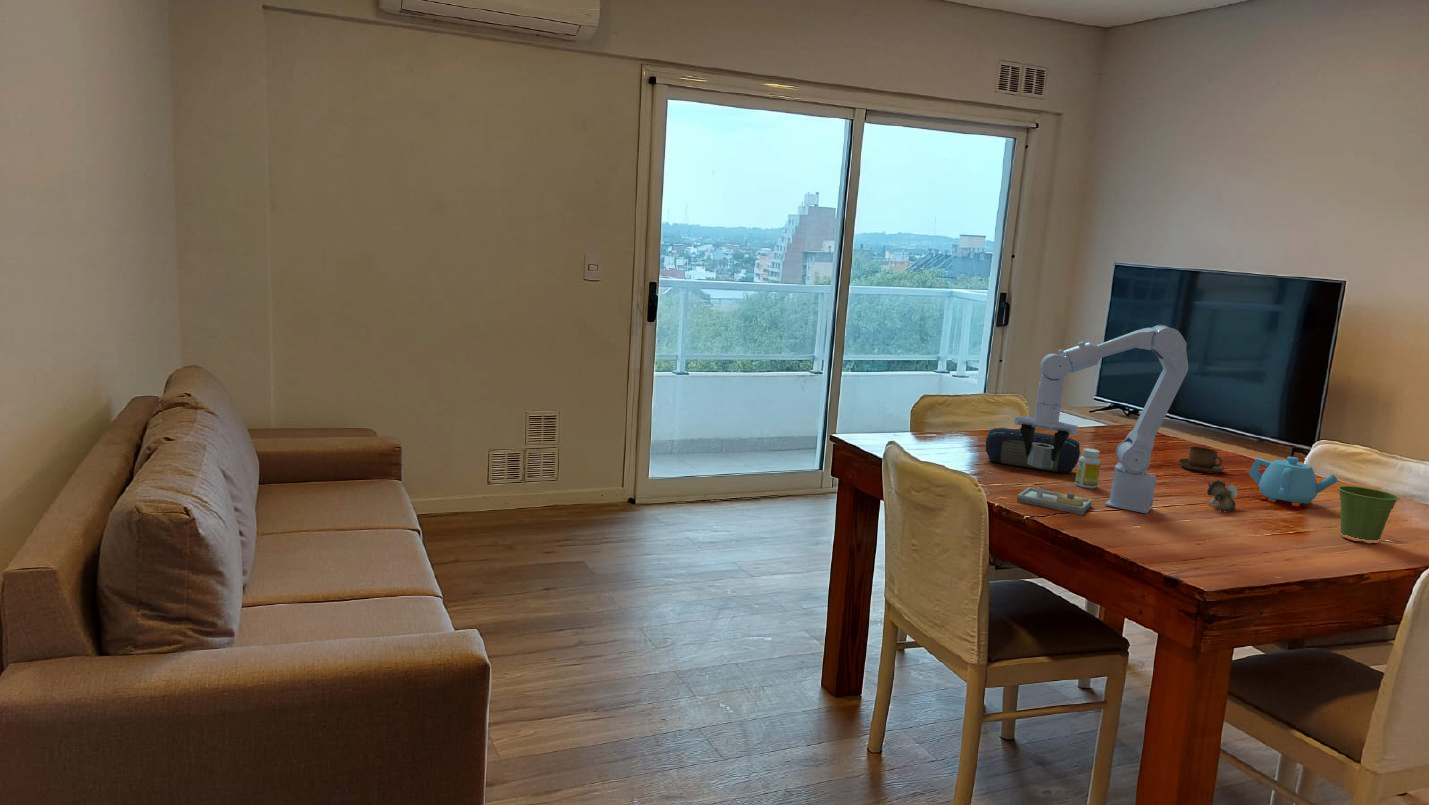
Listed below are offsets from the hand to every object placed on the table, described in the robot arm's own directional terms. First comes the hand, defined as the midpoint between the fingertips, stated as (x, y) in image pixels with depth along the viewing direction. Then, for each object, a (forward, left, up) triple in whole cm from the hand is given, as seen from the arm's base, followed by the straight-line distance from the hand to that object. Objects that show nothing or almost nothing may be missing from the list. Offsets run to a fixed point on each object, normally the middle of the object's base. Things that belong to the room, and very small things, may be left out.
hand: (1041, 458), depth 238 cm
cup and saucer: (-29, -72, -10) cm, 78 cm away
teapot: (-53, -48, -10) cm, 72 cm away
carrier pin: (-2, +6, -9) cm, 11 cm away
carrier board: (-6, +5, -9) cm, 12 cm away
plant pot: (-68, -20, -10) cm, 71 cm away
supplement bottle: (-7, -21, -10) cm, 24 cm away
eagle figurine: (-38, -26, -10) cm, 47 cm away
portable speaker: (+10, -31, -10) cm, 34 cm away
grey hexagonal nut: (0, 0, -2) cm, 2 cm away
